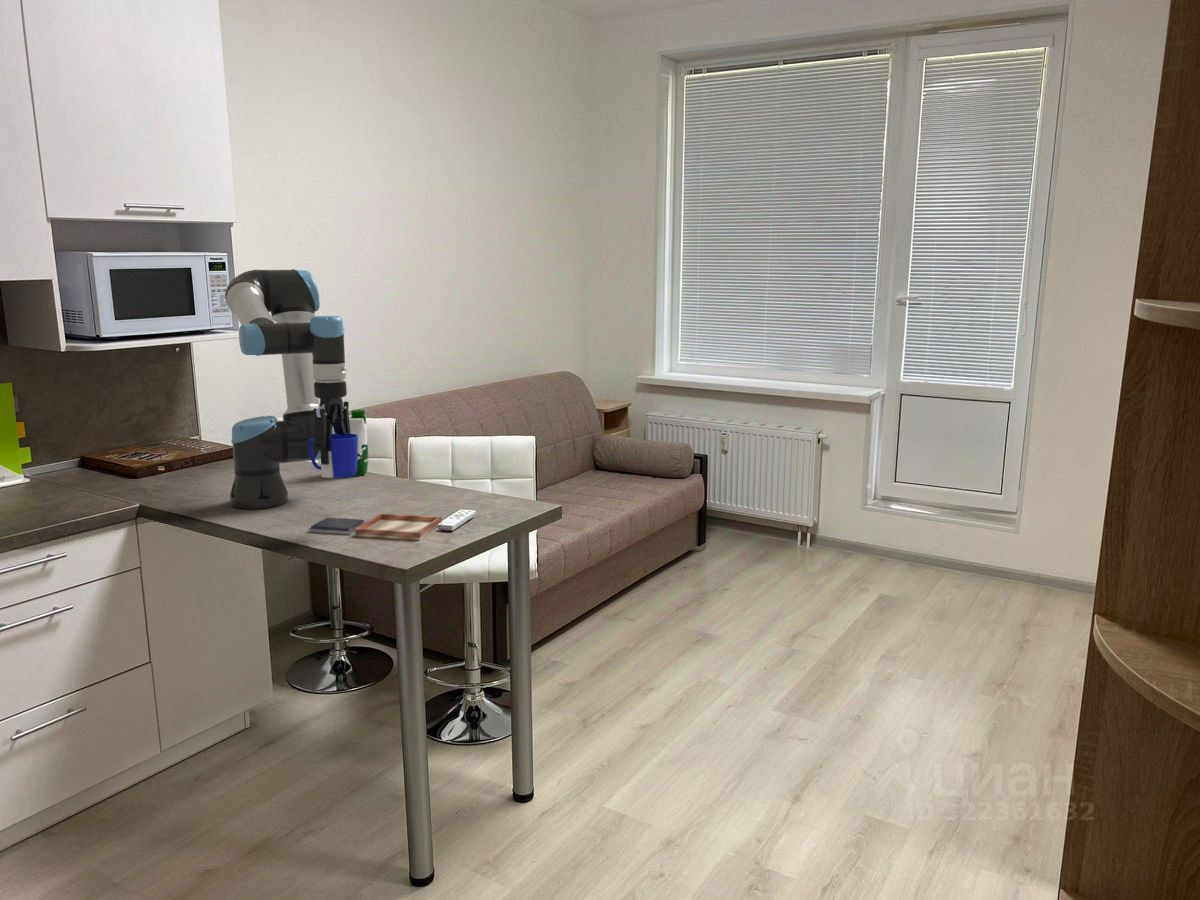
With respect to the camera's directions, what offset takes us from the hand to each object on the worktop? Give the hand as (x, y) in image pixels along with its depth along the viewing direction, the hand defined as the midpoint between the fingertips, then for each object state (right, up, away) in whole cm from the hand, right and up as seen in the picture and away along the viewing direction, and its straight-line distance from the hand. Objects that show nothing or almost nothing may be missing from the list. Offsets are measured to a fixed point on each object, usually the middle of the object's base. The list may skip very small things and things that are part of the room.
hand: (335, 473), depth 224 cm
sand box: (+16, -14, +2) cm, 21 cm away
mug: (0, -1, 0) cm, 1 cm away
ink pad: (0, -14, +3) cm, 14 cm away
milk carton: (-12, -2, +63) cm, 64 cm away
